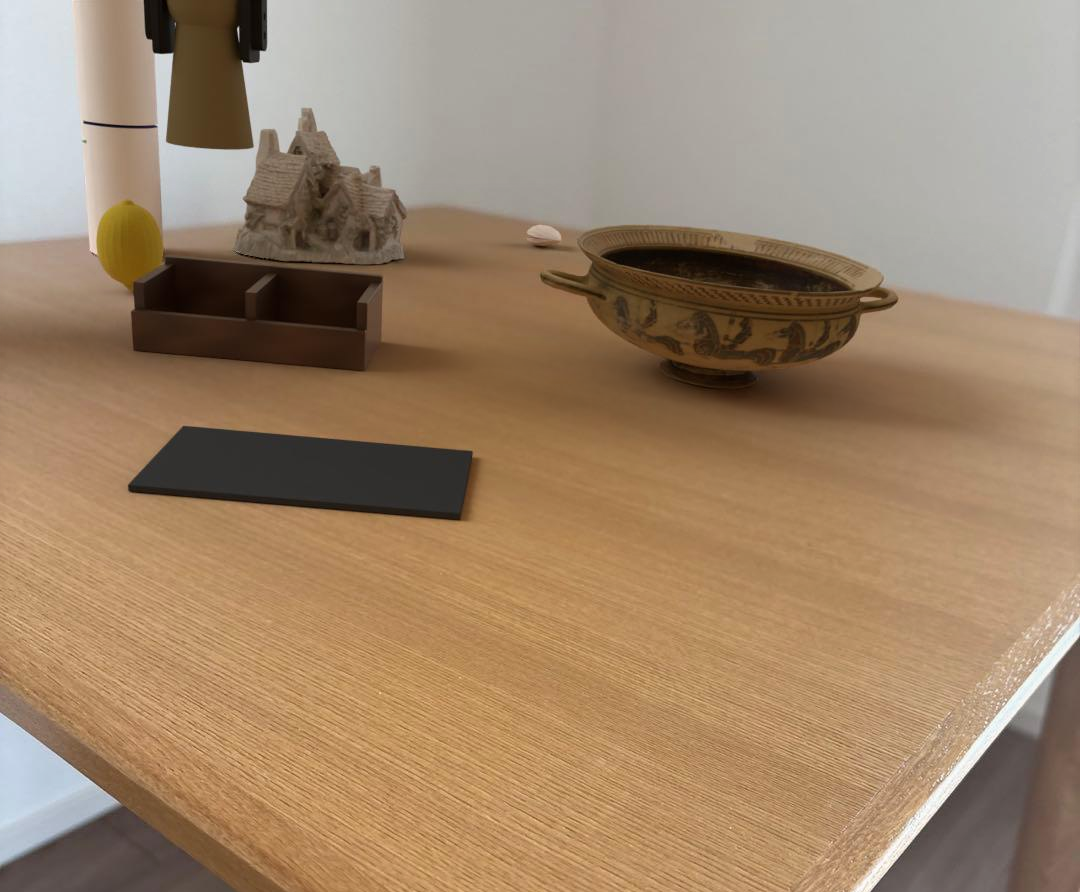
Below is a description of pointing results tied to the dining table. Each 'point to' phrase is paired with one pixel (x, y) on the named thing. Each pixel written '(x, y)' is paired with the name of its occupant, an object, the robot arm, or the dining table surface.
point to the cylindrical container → (116, 108)
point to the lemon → (128, 243)
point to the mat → (309, 472)
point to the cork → (207, 77)
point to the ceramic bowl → (722, 299)
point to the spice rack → (258, 312)
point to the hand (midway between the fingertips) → (207, 54)
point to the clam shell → (543, 235)
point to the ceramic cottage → (317, 205)
